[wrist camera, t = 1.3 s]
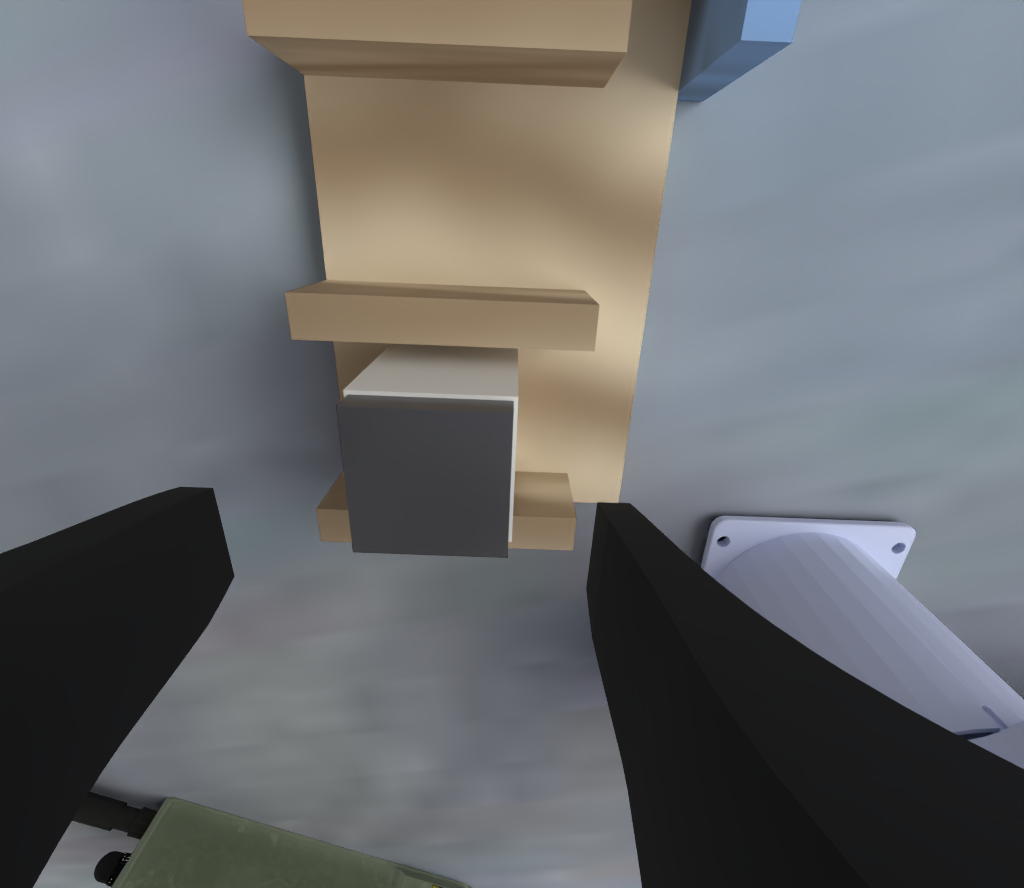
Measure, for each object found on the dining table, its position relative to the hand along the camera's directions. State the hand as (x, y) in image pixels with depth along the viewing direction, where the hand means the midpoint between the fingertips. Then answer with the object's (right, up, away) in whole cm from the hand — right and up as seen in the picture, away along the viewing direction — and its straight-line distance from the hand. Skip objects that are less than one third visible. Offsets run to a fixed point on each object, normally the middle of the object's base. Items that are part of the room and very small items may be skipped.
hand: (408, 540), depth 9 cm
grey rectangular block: (0, +3, +7) cm, 8 cm away
